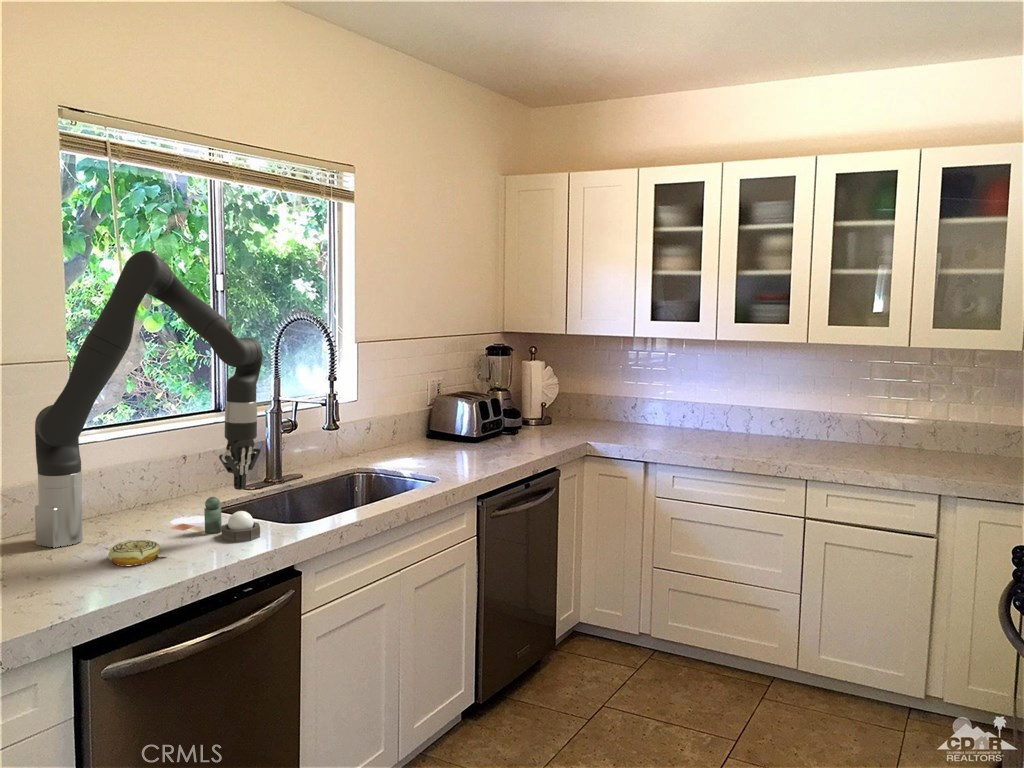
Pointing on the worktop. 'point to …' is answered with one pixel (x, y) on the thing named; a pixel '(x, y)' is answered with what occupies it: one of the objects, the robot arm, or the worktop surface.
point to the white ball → (240, 521)
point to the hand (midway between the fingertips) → (239, 488)
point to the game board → (227, 532)
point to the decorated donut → (134, 552)
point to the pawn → (212, 516)
